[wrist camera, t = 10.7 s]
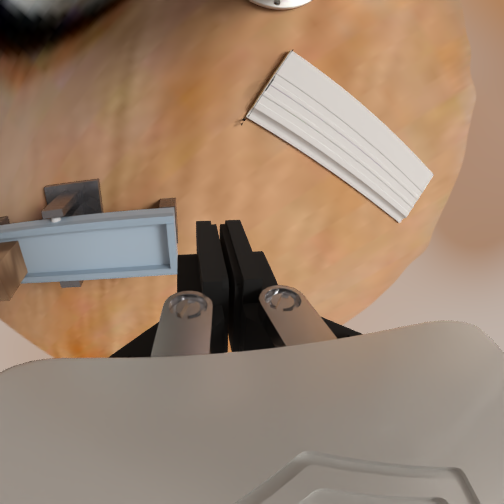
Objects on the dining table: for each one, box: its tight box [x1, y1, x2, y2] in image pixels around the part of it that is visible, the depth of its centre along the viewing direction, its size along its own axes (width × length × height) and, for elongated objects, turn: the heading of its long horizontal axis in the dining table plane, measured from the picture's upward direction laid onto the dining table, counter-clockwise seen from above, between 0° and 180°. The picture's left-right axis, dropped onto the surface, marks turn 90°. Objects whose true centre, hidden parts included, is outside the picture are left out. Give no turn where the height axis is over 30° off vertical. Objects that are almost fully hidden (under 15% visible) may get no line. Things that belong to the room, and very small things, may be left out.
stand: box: [0, 179, 178, 288], centre depth 34 cm, size 12×28×8 cm, turn 88°
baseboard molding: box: [241, 50, 433, 223], centre depth 40 cm, size 31×3×12 cm
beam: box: [0, 207, 178, 283], centre depth 31 cm, size 8×28×3 cm, turn 88°
